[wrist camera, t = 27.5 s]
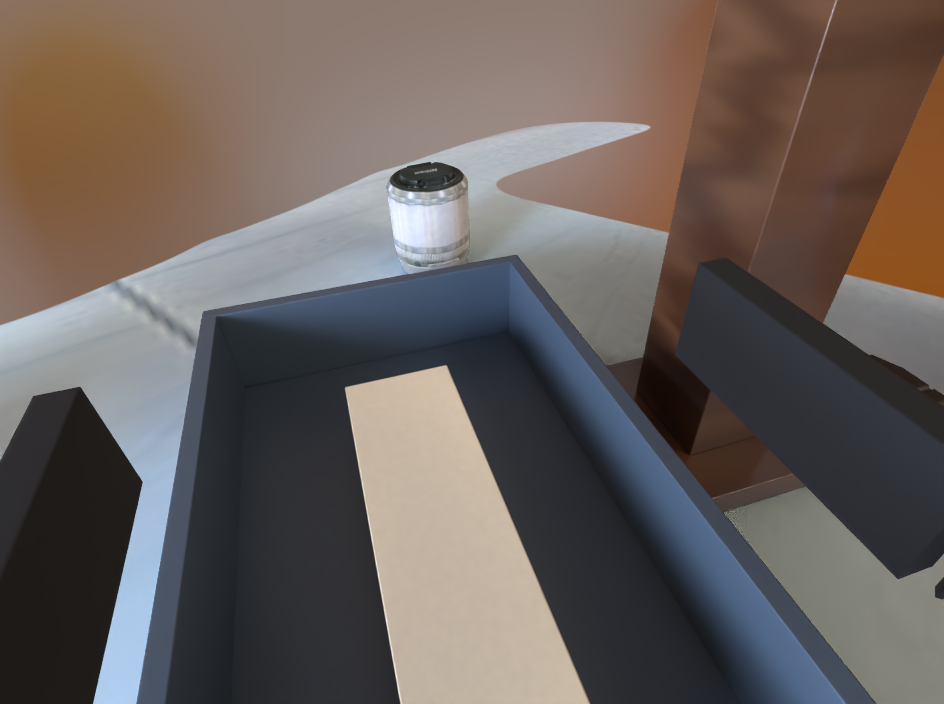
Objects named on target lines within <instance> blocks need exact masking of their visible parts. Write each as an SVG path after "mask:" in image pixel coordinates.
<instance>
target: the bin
mask: <svg viewBox="0 0 944 704" xmlns="http://www.w3.org/2000/svg"><path fill="white" fill-rule="evenodd" d="M445 365H446V366H447V367H448V370H449V372H450V374H451V377H452V379H453V381H454V384H455V386H456V388H457V391H458V393H459V396H460V398H461V400H462V403H463V405H464V407H465V410H466V412H467V414H468V417H469V419H470V421H471V424H472V426H473V428H474V431H475V433H476V436H477V438H478V440H479V443H480V445H481V447H482V450H483V452H484V454H485V457H486V459H487V461H488V464H489V466H490V469H491V471H492V473H493V476H494V478H495V480H496V483H497V485H498V487H499V490H500V492H501V494H502V497H503V499H504V502H505V504H506V506H507V509H508V511H509V513H510V516H511V518H512V520H513V523H514V525H515V527H516V530H517V532H518V535H519V537H520V539H521V542H522V544H523V546H524V549H525V551H526V553H527V556H528V558H529V560H530V563H531V565H532V567H533V570H534V572H535V575H536V577H537V579H538V582H539V584H540V586H541V589H542V591H543V593H544V596H545V598H546V600H547V603H548V605H549V608H550V610H551V612H552V615H553V617H554V619H555V622H556V624H557V626H558V629H559V631H560V633H561V636H562V638H563V641H564V643H565V645H566V648H567V650H568V652H569V655H570V657H571V659H572V662H573V664H574V666H575V669H576V671H577V673H578V676H579V678H580V681H581V683H582V685H583V688H584V690H585V692H586V695H587V697H588V699H589V702H590V704H876V703H875V701H874V700H873V699H872V698H871V696H870V695H869V694H868V693H867V691H866V690H865V689H864V688H863V686H862V685H861V684H860V683H859V681H858V680H857V679H856V678H855V676H854V675H853V674H852V673H851V671H850V670H849V669H848V668H847V666H846V665H845V664H844V663H843V661H842V660H841V659H840V658H839V656H838V655H837V654H836V653H835V651H834V650H833V649H832V648H831V646H830V645H829V644H828V643H827V641H826V640H825V639H824V638H823V636H822V635H821V634H820V633H819V631H818V630H817V629H816V628H815V626H814V625H813V624H812V623H811V621H810V620H809V619H808V618H807V616H806V615H805V614H804V613H803V611H802V610H801V609H800V608H799V606H798V605H797V604H796V603H795V601H794V600H793V599H792V598H791V596H790V595H789V594H788V593H787V591H786V590H785V589H784V588H783V586H782V585H781V584H780V583H779V581H778V580H777V579H776V578H775V576H774V575H773V574H772V573H771V571H770V570H769V569H768V568H767V566H766V565H765V564H764V563H763V561H762V560H761V559H760V558H759V556H758V555H757V554H756V553H755V551H754V550H753V549H752V548H751V546H750V545H749V544H748V543H747V541H746V540H745V539H744V538H743V536H742V535H741V534H740V533H739V531H738V530H737V529H736V528H735V527H734V525H733V524H732V523H731V522H730V520H729V519H728V518H727V517H726V515H725V514H724V513H723V512H722V510H721V509H720V508H719V507H718V505H717V504H716V503H715V502H714V500H713V499H712V498H711V497H710V495H709V494H708V493H707V492H706V490H705V489H704V488H703V487H702V485H701V484H700V483H699V482H698V480H697V479H696V478H695V477H694V475H693V474H692V473H691V472H690V470H689V469H688V468H687V467H686V465H685V464H684V463H683V462H682V460H681V459H680V458H679V457H678V455H677V454H676V453H675V452H674V450H673V449H672V448H671V447H670V445H669V444H668V443H667V442H666V440H665V439H664V438H663V437H662V435H661V434H660V433H659V432H658V430H657V429H656V428H655V427H654V425H653V424H652V423H651V422H650V420H649V419H648V418H647V417H646V415H645V414H644V413H643V412H642V410H641V409H640V408H639V407H638V405H637V404H636V403H635V402H634V400H633V399H632V398H631V397H630V395H629V394H628V393H627V392H626V390H625V389H624V388H623V387H622V385H621V384H620V383H619V382H618V380H617V379H616V378H615V377H614V375H613V374H612V373H611V372H610V370H609V369H608V368H607V367H606V365H605V364H604V363H603V362H602V360H601V359H600V358H599V357H598V355H597V354H596V353H595V352H594V350H593V349H592V348H591V347H590V346H589V344H588V343H587V342H586V341H585V339H584V338H583V337H582V336H581V334H580V333H579V332H578V331H577V329H576V328H575V327H574V326H573V324H572V323H571V322H570V321H569V319H568V318H567V317H566V316H565V314H564V313H563V312H562V311H561V309H560V308H559V307H558V306H557V304H556V303H555V302H554V301H553V299H552V298H551V297H550V296H549V294H548V293H547V292H546V291H545V289H544V288H543V287H542V286H541V284H540V283H539V282H538V281H537V279H536V278H535V277H534V276H533V274H532V273H531V272H530V271H529V269H528V268H527V267H526V266H525V264H524V263H523V262H522V261H521V260H520V258H519V257H518V256H517V255H512V256H507V257H501V258H496V259H490V260H485V261H479V262H474V263H468V264H463V265H457V266H452V267H446V268H441V269H435V270H429V271H424V272H418V273H413V274H407V275H402V276H396V277H391V278H385V279H380V280H374V281H369V282H363V283H358V284H352V285H347V286H341V287H336V288H330V289H325V290H319V291H313V292H308V293H302V294H297V295H291V296H286V297H280V298H275V299H269V300H264V301H258V302H253V303H247V304H242V305H236V306H231V307H225V308H220V309H214V310H208V311H204V312H203V315H202V319H201V325H200V331H199V337H198V343H197V348H196V354H195V360H194V366H193V372H192V378H191V384H190V390H189V396H188V402H187V408H186V414H185V419H184V425H183V431H182V437H181V443H180V449H179V455H178V461H177V467H176V473H175V479H174V485H173V491H172V496H171V502H170V508H169V514H168V520H167V526H166V532H165V538H164V544H163V550H162V556H161V562H160V568H159V573H158V579H157V585H156V591H155V597H154V603H153V609H152V615H151V621H150V627H149V633H148V639H147V645H146V650H145V656H144V662H143V668H142V674H141V680H140V686H139V692H138V698H137V704H400V698H399V693H398V687H397V681H396V676H395V670H394V664H393V659H392V653H391V647H390V641H389V636H388V630H387V624H386V619H385V613H384V607H383V602H382V596H381V590H380V584H379V579H378V573H377V567H376V562H375V556H374V550H373V545H372V539H371V533H370V528H369V522H368V516H367V510H366V505H365V499H364V493H363V488H362V482H361V476H360V471H359V465H358V459H357V453H356V448H355V442H354V436H353V431H352V425H351V419H350V414H349V408H348V402H347V397H346V391H345V388H346V387H349V386H354V385H358V384H363V383H367V382H372V381H376V380H381V379H385V378H390V377H395V376H399V375H404V374H408V373H413V372H417V371H422V370H426V369H431V368H435V367H440V366H445Z"/></svg>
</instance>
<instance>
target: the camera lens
mask: <svg viewBox="0 0 944 704" xmlns="http://www.w3.org/2000/svg"><path fill="white" fill-rule="evenodd" d="M387 193H388V201H389V208H390V215H391V222H392V229H393V235H394V245H395V249H396V252H397V256H398V259H399V260H400V263H401V266H402V269H403V270H404V271H405V272H406V273H408V274H413V273H418V272H424V271H429V270H435V269H441V268H446V267H452V266H457V265H463V264H466V263H467V256H468V253H469V244H470V234H469V208H468V181H467V178H466V177H465V175H464V174H463V173H462V172H461V171H460V170H459V169H457V168H455V167H453V166H449V165H446V164H443V163H438V162H434V163H432V164H431V162H427V163H422V164H417V165H411V166H407V167H406V168H403V169H401V170H399V171H397V172H396V173H394V174H393V175H392V176H391V177H390V179H389V181H388V183H387Z"/></svg>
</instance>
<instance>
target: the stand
mask: <svg viewBox="0 0 944 704" xmlns="http://www.w3.org/2000/svg"><path fill="white" fill-rule="evenodd" d="M943 56H944V0H718V1H717V6H716V11H715V15H714V20H713V25H712V30H711V35H710V40H709V44H708V49H707V54H706V59H705V63H704V68H703V73H702V77H701V82H700V87H699V92H698V97H697V101H696V106H695V111H694V116H693V121H692V125H691V130H690V135H689V140H688V145H687V149H686V154H685V159H684V164H683V168H682V174H681V178H680V183H679V188H678V193H677V198H676V202H675V207H674V212H673V216H672V221H671V226H670V232H669V236H668V240H667V245H666V250H665V255H664V259H663V264H662V269H661V274H660V279H659V283H658V288H657V293H656V298H655V303H654V307H653V312H652V317H651V322H650V327H649V331H648V336H647V341H646V346H645V351H644V355H643V358H639V359H634V360H630V361H626V362H622V363H617V364H613V365H609V366H606V367H607V368H608V369H609V370H610V372H611V373H612V374H613V375H614V377H615V378H616V379H617V380H618V382H619V383H620V384H621V385H622V387H623V388H624V389H625V390H626V392H627V393H628V394H629V395H630V397H631V398H632V399H633V400H634V402H635V403H636V404H637V405H638V407H639V408H640V409H641V410H642V412H643V413H644V414H645V415H646V417H647V418H648V419H649V420H650V422H651V423H652V424H653V425H654V427H655V428H656V429H657V430H658V432H659V433H660V434H661V435H662V437H663V438H664V439H665V440H666V442H667V443H668V444H669V445H670V447H671V448H672V449H673V450H674V452H675V453H676V454H677V455H678V457H679V458H680V459H681V460H682V462H683V463H684V464H685V465H686V467H687V468H688V469H689V470H690V472H691V473H692V474H693V475H694V477H695V478H696V479H697V480H698V482H699V483H700V484H701V485H702V487H703V488H704V489H705V490H706V492H707V493H708V494H709V495H710V497H711V498H712V499H713V500H714V502H715V503H716V504H717V505H718V507H719V508H720V509H721V510H722V512H726V511H729V510H732V509H735V508H738V507H741V506H745V505H748V504H751V503H754V502H757V501H760V500H763V499H767V498H770V497H773V496H776V495H779V494H782V493H786V492H789V491H792V490H795V489H798V488H801V487H805V485H804V484H803V483H802V482H801V481H800V480H799V479H798V478H797V477H796V476H795V475H794V474H793V473H792V472H791V471H790V470H789V469H788V468H787V467H786V466H785V465H784V464H783V463H782V462H781V461H780V460H779V459H778V458H777V457H776V456H775V455H774V454H773V453H772V452H771V451H770V450H769V449H768V448H767V447H766V446H765V445H764V444H763V443H762V442H761V441H760V440H759V439H758V438H757V437H756V436H755V435H754V434H753V433H752V432H751V431H750V430H749V429H748V427H747V426H746V425H745V424H744V423H743V422H742V421H741V420H740V419H739V418H738V417H737V416H736V415H735V414H734V413H733V412H732V411H731V410H730V409H729V408H728V407H727V406H726V405H725V404H724V403H723V402H722V401H721V400H720V399H719V398H718V397H717V396H716V395H715V394H714V393H713V392H712V391H711V390H710V389H709V388H708V387H707V386H706V385H705V384H704V383H703V382H702V381H701V380H700V379H699V378H698V377H697V376H696V375H695V374H694V373H693V372H692V371H691V370H690V369H689V368H688V367H687V366H686V365H685V364H684V363H683V362H682V361H681V360H680V359H679V358H678V357H677V356H676V355H675V353H676V349H677V345H678V341H679V337H680V334H681V330H682V326H683V322H684V318H685V314H686V310H687V306H688V302H689V298H690V295H691V291H692V287H693V283H694V279H695V275H696V271H697V267H698V263H701V262H706V261H711V260H716V259H721V258H728V259H729V260H731V261H732V262H734V263H735V264H737V265H738V266H740V267H741V268H742V269H744V270H745V271H747V272H748V273H750V274H751V275H753V276H754V277H756V278H757V279H759V280H760V281H761V282H763V283H764V284H766V285H767V286H769V287H770V288H772V289H773V290H775V291H776V292H777V293H779V294H780V295H782V296H783V297H785V298H786V299H788V300H789V301H791V302H792V303H794V304H795V305H796V306H798V307H799V308H801V309H802V310H804V311H805V312H807V313H808V314H810V315H811V316H812V317H814V318H815V319H817V320H818V321H820V322H821V323H823V322H824V319H825V317H826V315H827V313H828V310H829V308H830V306H831V304H832V302H833V299H834V297H835V295H836V293H837V291H838V288H839V286H840V284H841V282H842V280H843V277H844V275H845V273H846V271H847V269H848V266H849V264H850V262H851V260H852V257H853V255H854V253H855V251H856V249H857V246H858V244H859V242H860V240H861V238H862V235H863V233H864V231H865V228H866V227H867V224H868V222H869V220H870V217H871V215H872V213H873V211H874V208H875V206H876V204H877V202H878V200H879V198H880V195H881V193H882V191H883V189H884V187H885V185H886V182H887V180H888V178H889V175H890V174H891V171H892V169H893V167H894V165H895V162H896V160H897V158H898V156H899V154H900V151H901V149H902V147H903V145H904V143H905V140H906V138H907V136H908V134H909V131H910V129H911V127H912V125H913V123H914V120H915V118H916V116H917V114H918V112H919V109H920V107H921V105H922V103H923V101H924V98H925V96H926V94H927V92H928V89H929V87H930V85H931V83H932V81H933V79H934V76H935V74H936V72H937V70H938V67H939V65H940V63H941V60H942V58H943Z"/></svg>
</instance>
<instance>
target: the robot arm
mask: <svg viewBox="0 0 944 704" xmlns="http://www.w3.org/2000/svg"><path fill="white" fill-rule="evenodd" d="M675 355H676V356H677V357H678V358H679V359H680V360H681V361H682V362H683V363H684V364H685V365H686V366H687V367H688V368H689V369H690V370H691V371H692V372H693V373H694V374H695V375H696V376H697V377H698V378H699V379H700V380H701V381H702V382H703V383H704V384H705V385H706V386H707V387H708V388H709V389H710V390H711V391H712V392H713V393H714V394H715V395H716V396H717V397H718V398H719V399H720V400H721V401H722V402H723V403H724V404H725V405H726V406H727V407H728V408H729V409H730V410H731V411H732V412H733V413H734V414H735V415H736V416H737V417H738V418H739V419H740V420H741V421H742V422H743V423H744V424H745V425H746V426H747V427H748V429H749V430H750V431H751V432H752V433H753V434H754V435H755V436H756V437H757V438H758V439H759V440H760V441H761V442H762V443H763V444H764V445H765V446H766V447H767V448H768V449H769V450H770V451H771V452H772V453H773V454H774V455H775V456H776V457H777V458H778V459H779V460H780V461H781V462H782V463H783V464H784V465H785V466H786V467H787V468H788V469H789V470H790V471H791V472H792V473H793V474H794V475H795V476H796V477H797V478H798V479H799V480H800V481H801V482H802V483H803V484H804V485H805V486H806V487H807V488H808V489H809V490H810V491H811V492H812V493H813V494H814V495H815V496H816V497H817V498H818V499H819V500H820V501H821V502H822V503H823V504H824V505H825V506H826V507H827V508H828V509H829V510H830V511H831V512H832V513H833V514H834V515H835V516H836V517H837V518H838V519H839V520H840V521H841V522H842V523H843V524H844V525H845V526H846V527H847V528H848V529H849V530H850V531H851V532H852V533H853V534H854V535H855V536H856V537H857V538H858V539H859V540H860V541H861V542H862V543H863V544H864V545H865V546H866V547H867V548H868V549H869V550H870V551H871V552H872V553H873V555H874V556H875V557H876V558H877V559H878V560H879V561H880V562H881V563H882V564H883V565H884V566H885V567H886V568H887V569H888V570H889V571H890V572H891V573H892V574H893V575H894V576H895V577H896V578H897V579H900V578H903V577H905V576H908V575H910V574H913V573H916V572H918V571H921V570H924V569H926V568H929V567H932V566H933V565H934V564H935V563H936V562H937V561H938V559H939V558H940V557H941V556H942V555H943V554H944V395H942V394H941V393H939V392H938V391H936V390H935V389H933V390H931V389H930V388H929V385H928V384H926V383H925V382H923V381H922V380H920V379H919V378H917V377H916V376H914V375H913V374H911V373H910V372H908V371H907V370H905V369H904V368H902V367H899V366H897V365H895V364H892V363H890V362H888V361H885V360H883V359H881V358H878V357H876V356H874V355H868V354H866V353H865V352H863V351H862V350H861V349H859V348H858V347H856V346H855V345H853V344H852V343H850V342H849V341H847V340H846V339H845V338H843V337H842V336H840V335H839V334H837V333H836V332H834V331H833V330H831V329H830V328H828V327H827V326H826V325H824V324H823V323H821V322H820V321H818V320H817V319H815V318H814V317H812V316H811V315H810V314H808V313H807V312H805V311H804V310H802V309H801V308H799V307H798V306H796V305H795V304H794V303H792V302H791V301H789V300H788V299H786V298H785V297H783V296H782V295H780V294H779V293H777V292H776V291H775V290H773V289H772V288H770V287H769V286H767V285H766V284H764V283H763V282H761V281H760V280H759V279H757V278H756V277H754V276H753V275H751V274H750V273H748V272H747V271H745V270H744V269H742V268H741V267H740V266H738V265H737V264H735V263H734V262H732V261H731V260H729V259H728V258H721V259H716V260H711V261H706V262H701V263H698V267H697V271H696V275H695V279H694V283H693V287H692V291H691V295H690V298H689V302H688V306H687V310H686V314H685V318H684V322H683V326H682V330H681V334H680V337H679V341H678V345H677V349H676V353H675ZM142 483H143V482H142V480H141V479H140V477H139V476H138V474H137V473H136V471H135V469H134V468H133V466H132V465H131V463H130V462H129V460H128V459H127V457H126V456H125V454H124V453H123V451H122V450H121V448H120V447H119V445H118V444H117V442H116V441H115V439H114V437H113V436H112V434H111V433H110V431H109V430H108V428H107V427H106V425H105V424H104V422H103V421H102V419H101V418H100V416H99V415H98V413H97V412H96V410H95V408H94V407H93V405H92V404H91V402H90V401H89V399H88V398H87V396H86V395H85V393H84V392H83V390H82V389H81V387H77V388H72V389H67V390H62V391H57V392H52V393H47V394H42V395H37V396H33V398H32V400H31V402H30V404H29V406H28V408H27V409H26V411H25V413H24V415H23V417H22V419H21V421H20V423H19V425H18V427H17V429H16V431H15V433H14V435H13V437H12V439H11V441H10V443H9V445H8V447H7V449H6V451H5V453H4V455H3V457H2V459H1V461H0V704H93V701H94V697H95V692H96V688H97V683H98V679H99V674H100V670H101V665H102V661H103V657H104V652H105V648H106V643H107V639H108V634H109V630H110V625H111V621H112V616H113V612H114V608H115V603H116V599H117V594H118V590H119V585H120V581H121V576H122V572H123V567H124V563H125V559H126V554H127V550H128V545H129V541H130V536H131V532H132V527H133V523H134V519H135V514H136V510H137V505H138V501H139V496H140V492H141V487H142ZM935 597H936V598H939V599H944V577H943V578H942V579H941V581H940V582H939V583H938V584H937V585H936V586H935Z"/></svg>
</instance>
